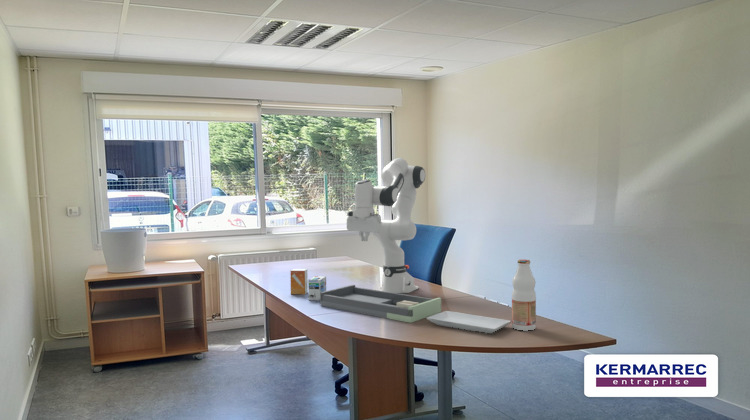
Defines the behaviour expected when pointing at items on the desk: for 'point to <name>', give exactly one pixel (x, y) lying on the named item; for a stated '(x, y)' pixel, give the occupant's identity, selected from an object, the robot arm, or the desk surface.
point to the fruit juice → (523, 298)
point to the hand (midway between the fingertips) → (364, 241)
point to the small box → (299, 281)
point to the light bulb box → (316, 287)
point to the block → (405, 304)
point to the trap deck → (380, 303)
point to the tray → (468, 321)
